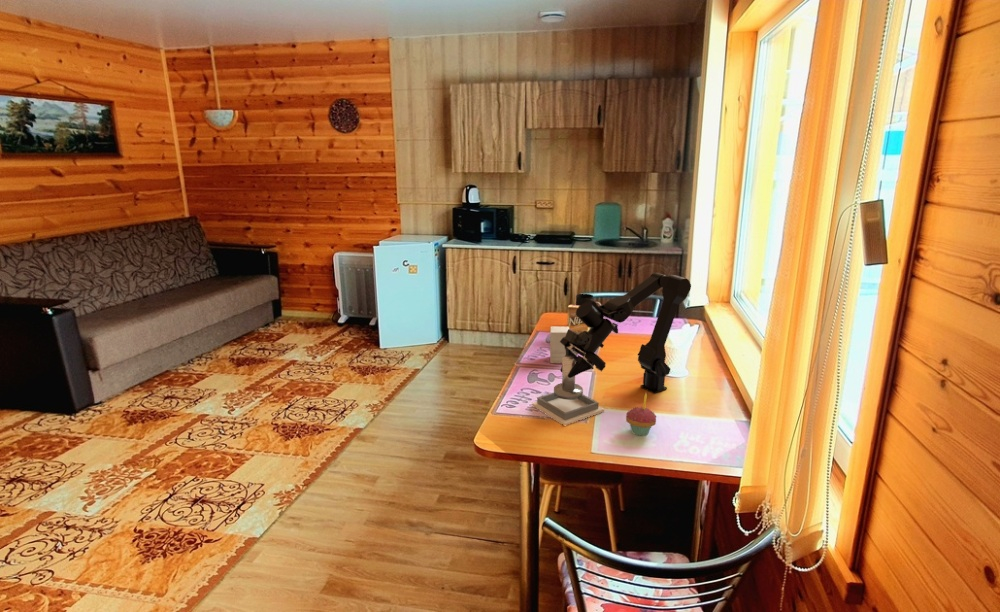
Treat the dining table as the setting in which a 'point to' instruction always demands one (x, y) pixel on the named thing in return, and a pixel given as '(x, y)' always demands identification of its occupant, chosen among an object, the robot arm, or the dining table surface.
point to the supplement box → (557, 344)
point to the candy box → (575, 320)
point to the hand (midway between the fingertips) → (564, 374)
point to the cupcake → (641, 419)
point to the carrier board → (567, 408)
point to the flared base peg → (568, 381)
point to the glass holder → (584, 299)
